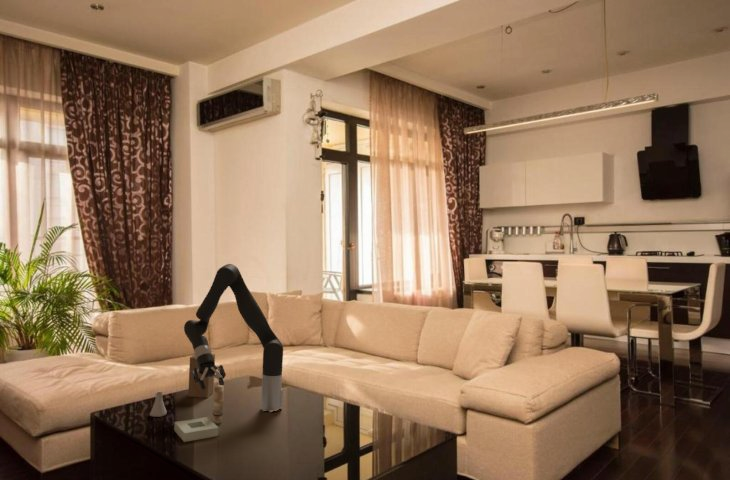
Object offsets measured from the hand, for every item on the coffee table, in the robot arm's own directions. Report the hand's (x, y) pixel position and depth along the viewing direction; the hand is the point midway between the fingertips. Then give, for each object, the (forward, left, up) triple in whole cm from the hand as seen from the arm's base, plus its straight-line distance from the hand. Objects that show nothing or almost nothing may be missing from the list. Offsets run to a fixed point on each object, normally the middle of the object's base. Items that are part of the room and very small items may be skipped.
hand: (213, 387), depth 245 cm
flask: (+20, -15, -14) cm, 29 cm away
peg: (0, +6, -14) cm, 15 cm away
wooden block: (-6, -35, -14) cm, 38 cm away
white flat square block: (+12, +14, -14) cm, 23 cm away
